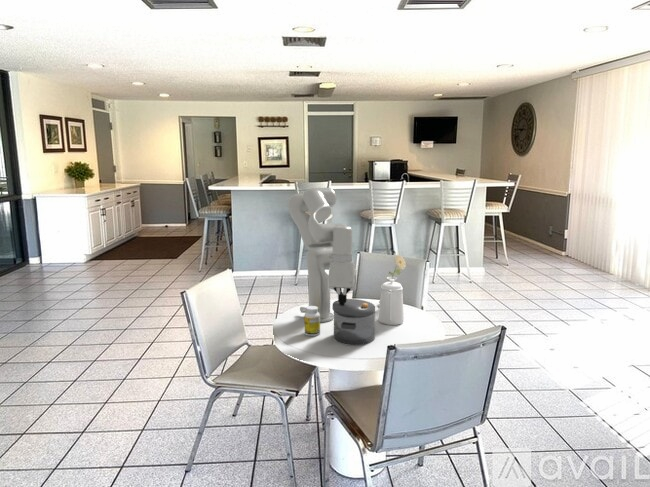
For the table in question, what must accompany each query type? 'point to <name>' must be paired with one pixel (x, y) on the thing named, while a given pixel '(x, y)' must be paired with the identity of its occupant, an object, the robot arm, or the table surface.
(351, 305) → the cooker lid
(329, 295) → the robot arm
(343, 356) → the table surface
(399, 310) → the coffeepot
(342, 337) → the cooker pot
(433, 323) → the table surface
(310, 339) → the table surface
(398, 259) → the flower in vase
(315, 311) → the pill bottle
